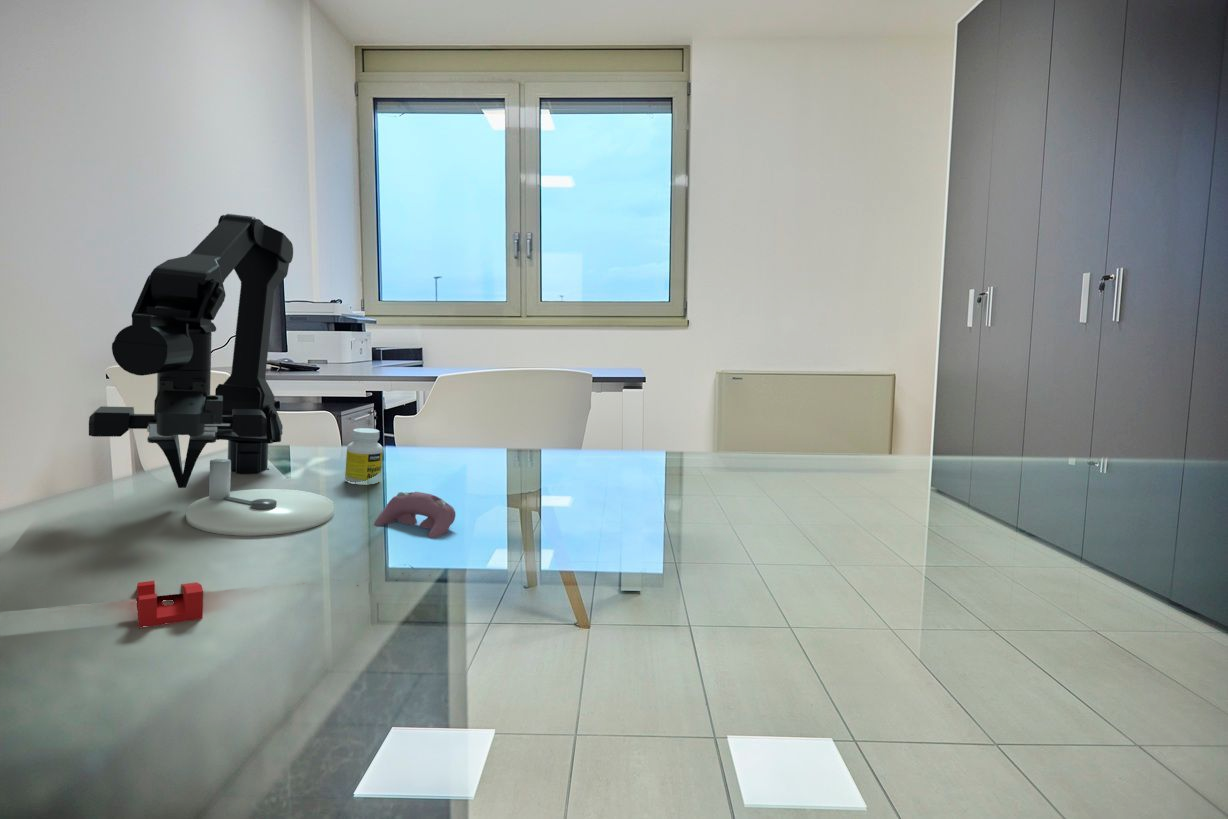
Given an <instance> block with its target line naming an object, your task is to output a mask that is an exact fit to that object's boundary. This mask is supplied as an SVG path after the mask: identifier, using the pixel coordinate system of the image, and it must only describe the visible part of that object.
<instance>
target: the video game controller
mask: <svg viewBox="0 0 1228 819" xmlns="http://www.w3.org/2000/svg"><path fill="white" fill-rule="evenodd" d="M417 515H418V516H424V517H427V518H425V519H423V520H422V521H421V522H420V524H419V527H420V528H424V529H429V530H430V531H429V533H428V534H427V537H428V539H436V538H439V537H440V538H441V537H442V536H444V535H446V534H447V533H448V531H449V529H450V527H451V526H452V525H453V524H454V522H455V520H456V516H457V515H456V511H455V509H454V507H453V506H452V505H450V504H449V503H448V502H446V501H445V500H444V499H443V498H441V497H438V496H436V495H434V494H430V493H426V492H420V491H413V492H400V491H399V492H398V493H397V494H396V495H395V496H393V497H392V498H391V499H390V500H389V501H388V502H387V504H386V506H385V507H384V508H383V509H382V511H381V512H380V513H379V515H378V516H377V517H376V519H375V521H374V523H373V526H375V527H377V526H379V527H380V526H384V525H387V524H390V523H394V522H398V523H403V524H407V525H412V526H414V525H416V524H417V523H418V520H417V517H416V516H417Z"/></svg>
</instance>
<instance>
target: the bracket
mask: <svg viewBox="0 0 1228 819" xmlns="http://www.w3.org/2000/svg"><path fill="white" fill-rule="evenodd" d="M136 585H137V586H136V593H137V597H136V599H135V600H136V601H137V603H136V610H137V611H138V613H137V620H139V623H138V628H139V627H143V626H151V627H154V626H153V625H158V626H163V625H162V624H164V625H166V624H165V623H170V624H176V623H182V622H188V621H194V620H199V619H203V614H204V613H203V612H204V610H203V609H204V589H203V587H202V584H201V583H199V582H197V581H196V582H188V583H182V584H180V585H181V588H182V593H174V594H173V593H172V594H165V595H163V594H162V595H157V593H156V585H155V580H149V581H148V580H145V581H140V582H137V584H136ZM163 600H173V601H172V603H171V604H163V602H162V601H163ZM136 601H135V602H136ZM173 602H174V603H173ZM174 622H175V623H174Z"/></svg>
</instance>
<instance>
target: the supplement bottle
mask: <svg viewBox="0 0 1228 819" xmlns="http://www.w3.org/2000/svg"><path fill="white" fill-rule="evenodd" d="M352 440H353V441H352V442H350V443H348V445H347V448H346V457H345V458H346V459H345V474H344V480H345V479H346V480H347V481H350V482H355V483H356V482H361V481H362V482H363V481H366V480H368V479H370V478H372V477H374V476H376V475H377V474H379V473H380V472H381V473H382V467H383V466H382V464H383V455H384V454H383V453H384V452H383V450H384V447H383V446H382V445H381V443H379V442H378V441H379V440H380V430H379V429H375V428H370V427H369V428H368V427H366V428H365V427H360V428H354V429H353V430H352Z"/></svg>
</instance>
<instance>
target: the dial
mask: <svg viewBox="0 0 1228 819" xmlns="http://www.w3.org/2000/svg"><path fill="white" fill-rule="evenodd" d="M231 475H232V471H231V460H228V458H215V459H211V460H209V480H208V481H209V484H208V485H209V487H208V488H209V489H208V490H209V491H208V496H205V497H202V498H200V499H198V500H196V501H193V502H191V504H189V505H188V506H187V507H186V510H185V512H186V513H185V516H186V517H185V520H186V523H187V524H189V526H191V527H193V528H194V529H197V530H200V531H204V532H208V533H211V534H212V533H213V534H217V535H218V534H219V535H225V536H241V537H242V536H243V537H248V536H249V537H253V536H254V537H258V536H273V535H282V534H283V535H284V534H291V533H297V532H301V531H304V530H309V529H313V528H315V527H318V526H321V525H323V524H325V523H327V522H329V521H330V520H331V519H332V518H333V516H334V512H335V504H334V502H333V500H331V499H329V498H328V497H326V496H324V495H320V494H318V493H314V492H310V491H304V490H296V489H287V488H286V489H282V488H253V489H243V490H233V491H231Z"/></svg>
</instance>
